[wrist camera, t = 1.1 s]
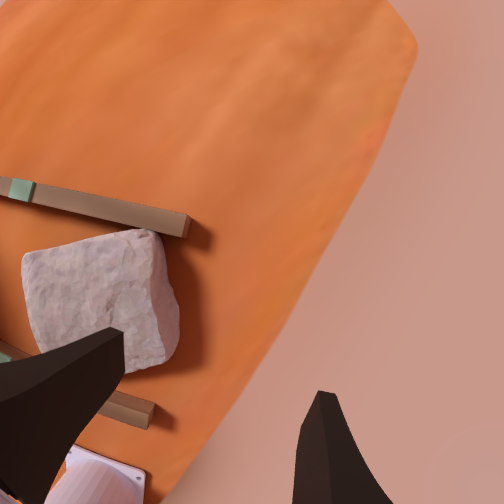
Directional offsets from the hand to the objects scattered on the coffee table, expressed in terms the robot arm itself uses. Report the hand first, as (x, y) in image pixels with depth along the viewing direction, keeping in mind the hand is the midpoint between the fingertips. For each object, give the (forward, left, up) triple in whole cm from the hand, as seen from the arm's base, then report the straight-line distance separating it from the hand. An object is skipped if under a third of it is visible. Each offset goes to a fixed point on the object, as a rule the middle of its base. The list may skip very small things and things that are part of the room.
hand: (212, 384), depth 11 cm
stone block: (-2, +9, -12) cm, 16 cm away
